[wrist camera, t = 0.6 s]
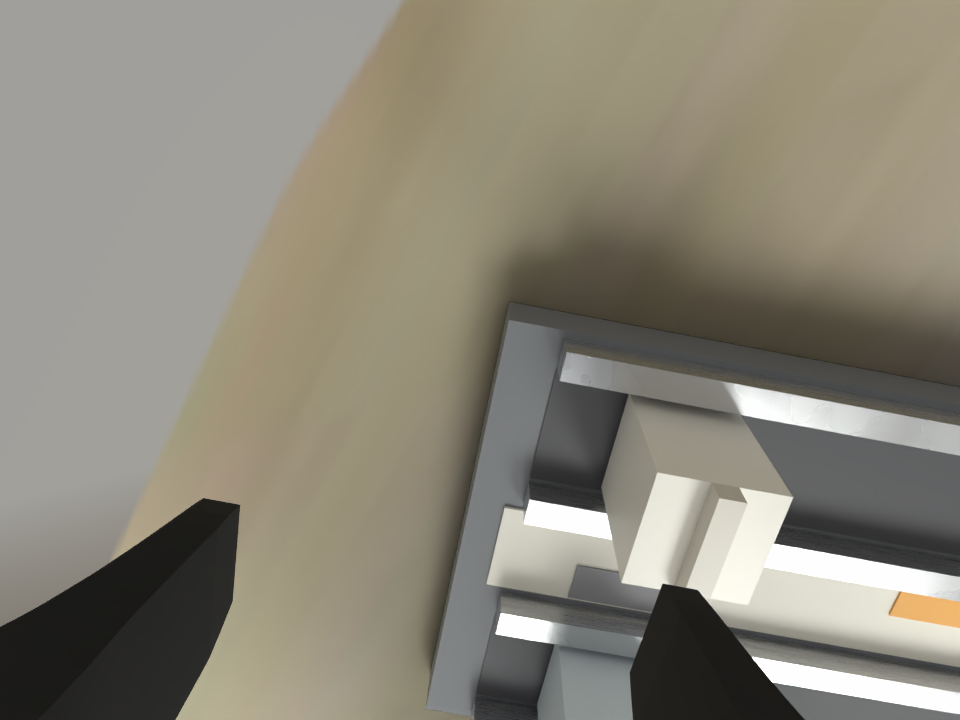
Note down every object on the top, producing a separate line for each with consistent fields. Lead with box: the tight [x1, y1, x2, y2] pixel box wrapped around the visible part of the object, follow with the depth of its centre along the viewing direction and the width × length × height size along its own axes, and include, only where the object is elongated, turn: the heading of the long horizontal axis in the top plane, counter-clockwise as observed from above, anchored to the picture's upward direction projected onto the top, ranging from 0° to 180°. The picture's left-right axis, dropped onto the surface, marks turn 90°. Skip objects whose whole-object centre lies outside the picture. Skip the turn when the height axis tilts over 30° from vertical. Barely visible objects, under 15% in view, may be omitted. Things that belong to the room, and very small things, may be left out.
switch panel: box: [426, 302, 960, 720], centre depth 22 cm, size 14×22×2 cm, turn 79°
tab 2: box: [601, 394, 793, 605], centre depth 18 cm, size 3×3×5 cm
